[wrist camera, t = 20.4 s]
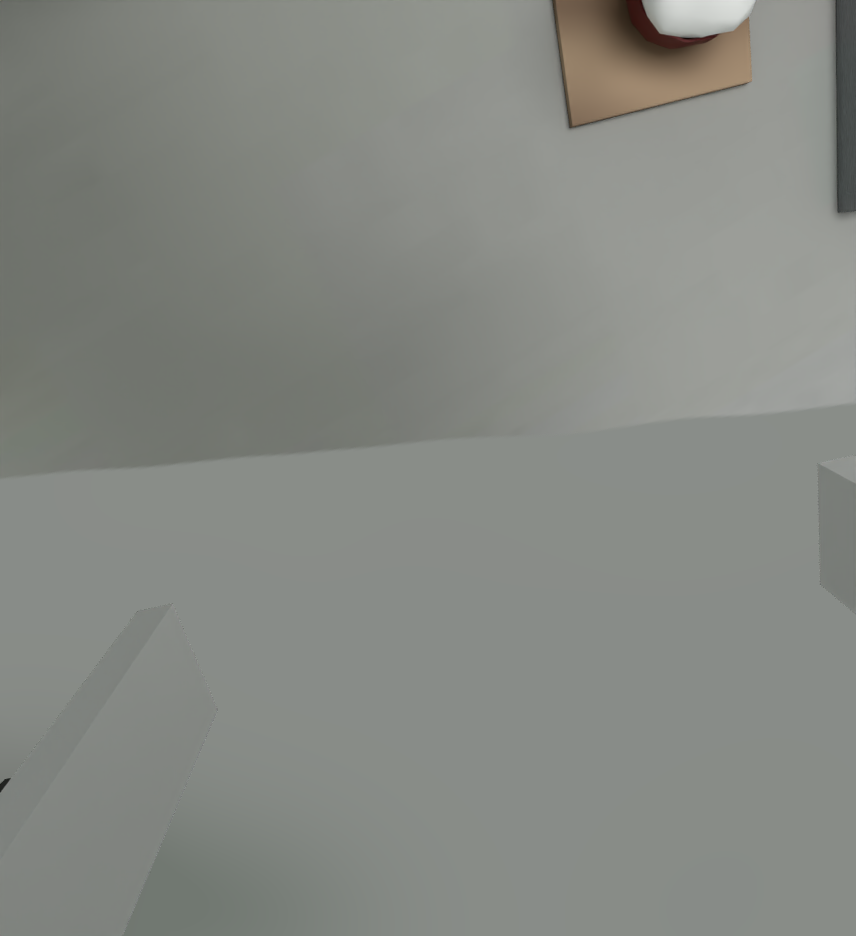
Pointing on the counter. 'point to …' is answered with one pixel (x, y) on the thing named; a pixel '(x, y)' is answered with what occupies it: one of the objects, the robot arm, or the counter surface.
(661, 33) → the cocoa
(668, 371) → the counter surface
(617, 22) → the walnut coaster
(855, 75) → the ring stand
